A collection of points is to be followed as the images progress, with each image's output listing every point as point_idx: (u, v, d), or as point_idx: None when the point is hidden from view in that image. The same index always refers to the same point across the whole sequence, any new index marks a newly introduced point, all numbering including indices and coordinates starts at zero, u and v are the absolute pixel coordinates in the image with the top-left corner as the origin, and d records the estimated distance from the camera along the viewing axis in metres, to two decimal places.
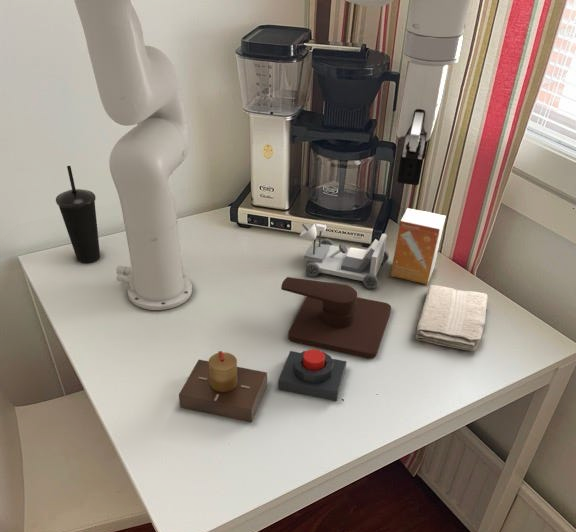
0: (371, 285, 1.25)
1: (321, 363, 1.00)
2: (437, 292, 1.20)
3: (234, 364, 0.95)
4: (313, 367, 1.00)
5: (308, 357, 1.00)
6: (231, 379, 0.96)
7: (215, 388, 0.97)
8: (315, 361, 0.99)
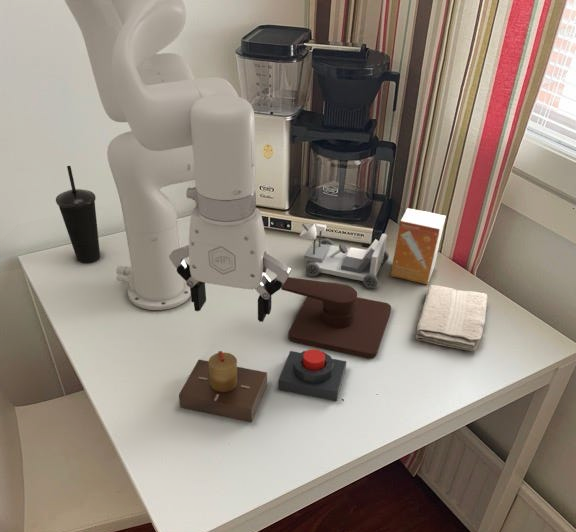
0: (371, 285, 1.25)
1: (321, 363, 1.00)
2: (437, 292, 1.20)
3: (234, 364, 0.95)
4: (313, 367, 1.00)
5: (308, 357, 1.00)
6: (231, 379, 0.96)
7: (215, 388, 0.97)
8: (315, 361, 0.99)
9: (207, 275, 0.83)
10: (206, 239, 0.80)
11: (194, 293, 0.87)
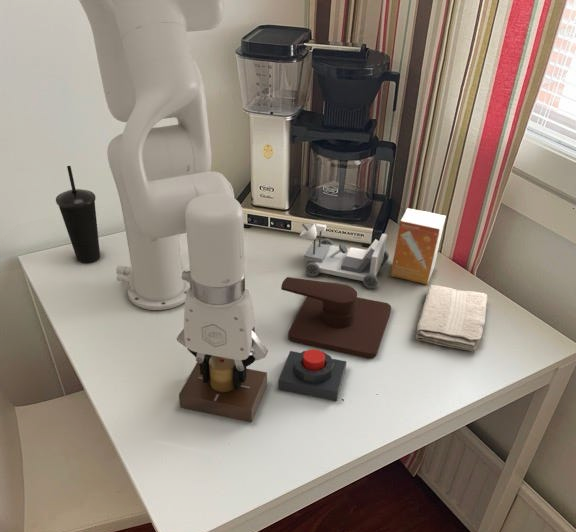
0: (371, 285, 1.25)
1: (321, 363, 1.00)
2: (437, 292, 1.20)
3: (234, 364, 0.95)
4: (313, 367, 1.00)
5: (308, 357, 1.00)
6: (231, 379, 0.96)
7: (215, 388, 0.97)
8: (315, 361, 0.99)
9: (200, 347, 0.91)
10: (199, 317, 0.87)
11: (203, 368, 0.95)
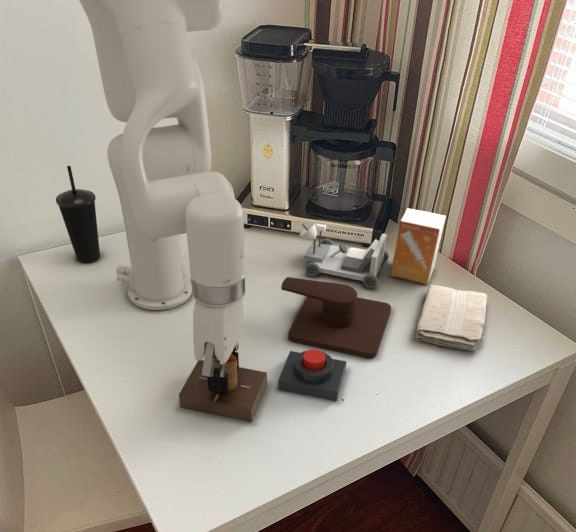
0: (371, 285, 1.25)
1: (321, 363, 1.00)
2: (437, 292, 1.20)
3: None
4: (313, 367, 1.00)
5: (308, 357, 1.00)
6: None
7: None
8: (315, 361, 0.99)
9: None
10: None
11: None
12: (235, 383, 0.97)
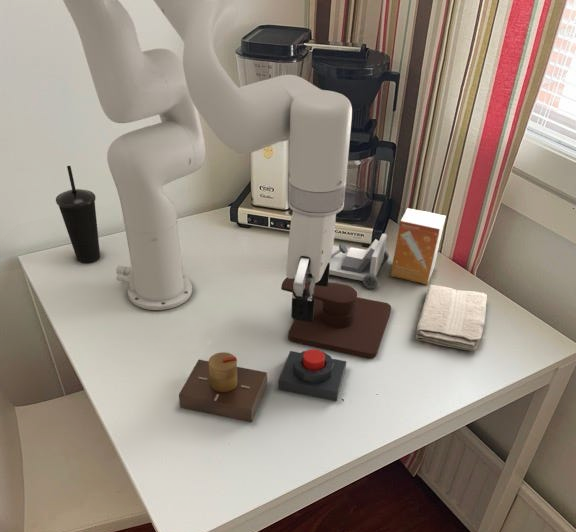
0: (371, 285, 1.25)
1: (321, 363, 1.00)
2: (437, 292, 1.20)
3: (216, 368, 0.94)
4: (313, 367, 1.00)
5: (308, 357, 1.00)
6: (211, 377, 0.96)
7: None
8: (315, 361, 0.99)
9: None
10: None
11: None
12: (235, 383, 0.97)
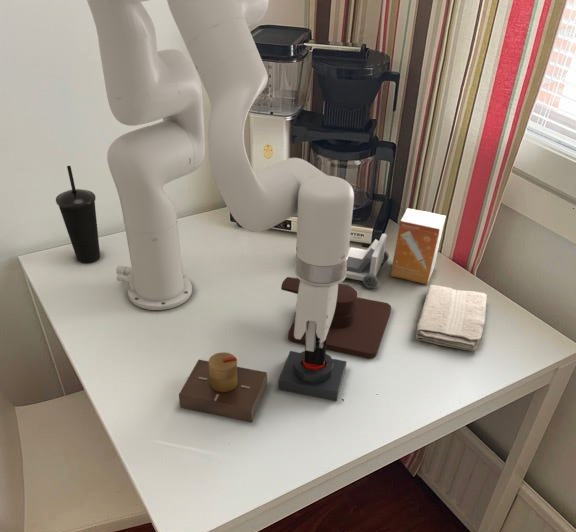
0: (371, 285, 1.25)
1: (320, 368, 1.00)
2: (437, 292, 1.20)
3: (216, 368, 0.94)
4: None
5: None
6: (211, 377, 0.96)
7: None
8: (315, 366, 1.00)
9: None
10: None
11: None
12: (235, 383, 0.97)
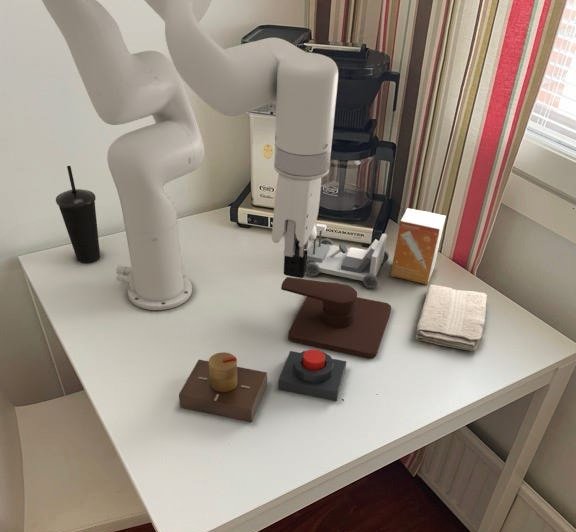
0: (371, 285, 1.25)
1: (321, 363, 1.00)
2: (437, 292, 1.20)
3: (216, 368, 0.94)
4: (313, 367, 1.00)
5: (308, 357, 1.00)
6: (211, 377, 0.96)
7: None
8: (315, 361, 0.99)
9: None
10: None
11: None
12: (235, 383, 0.97)
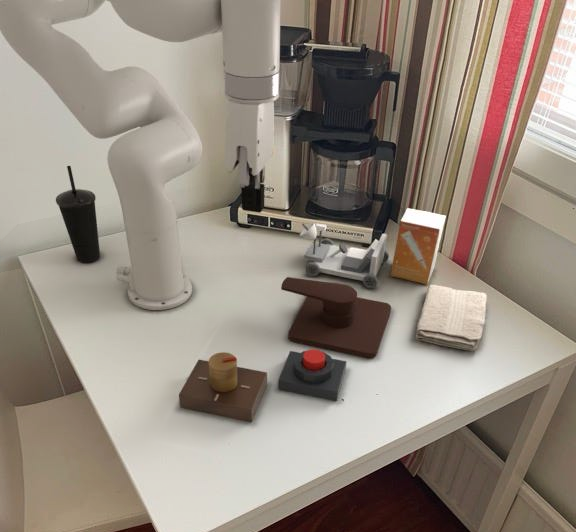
0: (371, 285, 1.25)
1: (321, 363, 1.00)
2: (437, 292, 1.20)
3: (216, 368, 0.94)
4: (313, 367, 1.00)
5: (308, 357, 1.00)
6: (211, 377, 0.96)
7: None
8: (315, 361, 0.99)
9: None
10: None
11: None
12: (235, 383, 0.97)
